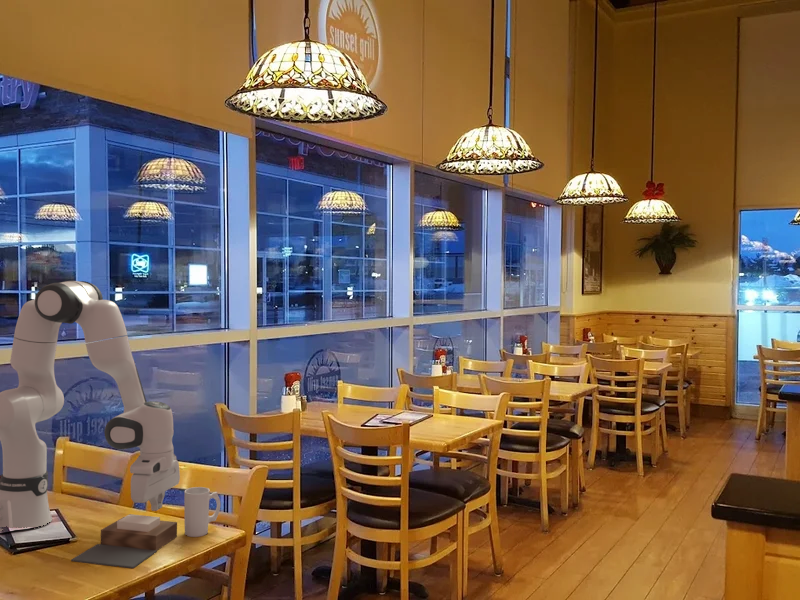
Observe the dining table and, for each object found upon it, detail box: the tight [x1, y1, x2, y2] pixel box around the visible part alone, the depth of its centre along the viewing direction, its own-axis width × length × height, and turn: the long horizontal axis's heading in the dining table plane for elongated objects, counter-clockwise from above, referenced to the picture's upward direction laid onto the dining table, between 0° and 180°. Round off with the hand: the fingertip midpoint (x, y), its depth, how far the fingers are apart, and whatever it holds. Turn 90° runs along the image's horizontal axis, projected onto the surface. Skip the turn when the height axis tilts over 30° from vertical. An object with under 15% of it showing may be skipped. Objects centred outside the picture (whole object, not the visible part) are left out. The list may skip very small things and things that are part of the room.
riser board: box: [100, 516, 178, 551], centre depth 199 cm, size 16×11×4 cm
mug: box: [183, 486, 221, 538], centre depth 206 cm, size 10×7×12 cm, turn 119°
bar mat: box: [70, 543, 158, 569], centre depth 187 cm, size 17×11×1 cm, turn 79°
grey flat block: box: [116, 513, 161, 532], centre depth 198 cm, size 9×6×2 cm, turn 79°
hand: (156, 509), depth 206 cm, fingers closed
